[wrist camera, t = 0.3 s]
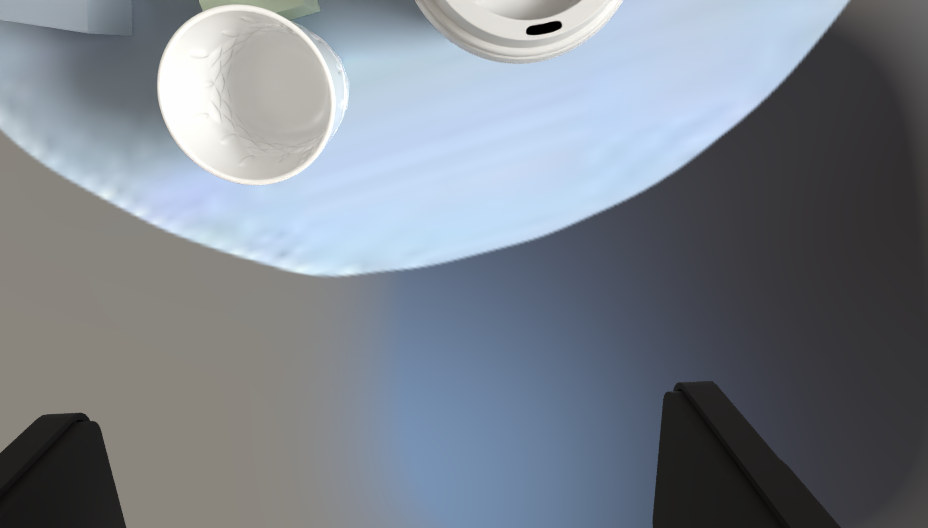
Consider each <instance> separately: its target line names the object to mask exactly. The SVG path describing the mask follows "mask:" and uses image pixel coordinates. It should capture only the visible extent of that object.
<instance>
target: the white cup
mask: <svg viewBox="0 0 928 528" xmlns="http://www.w3.org/2000/svg"><path fill="white" fill-rule="evenodd" d="M157 95H158V102H159V106H160V110H161V114H162V117H163V119H164V122H165V124H166V126H167V128H168V130H169V132H170V134H171V136H172V137H173V139H174V140H175V142H176V143H177V144H178V146H179V147H180V148H181V149H182V151H183V152H184V153H185V154H186V155H187V156H188V157H189V158H190V159H191V160H192V161H194V162H195V163H196V164H197V165H199V166H200V167H202V168H203V169H205V170H206V171H208V172H210V173H211V174H213V175H215V176H217V177H220V178H222V179H225V180H228V181H231V182H235V183H240V184H247V185H265V184H272V183H276V182H280V181H283V180H286V179H288V178H290V177H292V176H294V175H296V174H298V173H299V172H301V171H302V170H304V169H305V168H306V167H308V166H309V165H310V164H311V163H312V162H313V161H314V160H315V159H316V158H317V156H318V155H319V154H320V153H321V151H322V150H323V148H324V147H325V146H326V145H327V143H328V142H329V141H330V140H331V138H332V137H333V135H334V134H335V132H336V131H337V129H338V127H339V125H340V123H341V121H342V119H343V116H344V113H345V112H346V110H347V108H348V97H349V79H348V77H347V74H346V71H345V69H344V66H343V63H342V61H341V58H340V56H339V55H338V54H337V53H336V52H335V51H334V50H333V49H332V48H331V47H330V46H329V45H328V44H327V43H326V42H325V41H324V40H323V39H322V38H321V37H319V36H317V35H316V34H315V33H313V32H312V31H310V30H308V29H307V28H305V27H304V26H302V25H300V24H298V23H296V22H293V21H291V20H289V19H287V18H285V17H283V16H280V15H278V14H276V13H274V12H272V11H269V10H267V9H263V8H260V7H256V6H250V5H240V4H233V5H223V6H218V7H214V8H211V9H208V10H205V11H203V12H201V13H199V14H197V15H195V16H194V17H192V18H191V19H189V20H188V21H186V22H185V23H184V24H183V25H182V26H181V27H180V28H179V29H178V30H177V31H176V32H175V33H174V35H173V36H172V37H171V39H170V41H169V42H168V44H167V46H166V48H165V50H164V52H163V55H162V57H161V60H160V64H159V69H158V75H157Z"/></svg>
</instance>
